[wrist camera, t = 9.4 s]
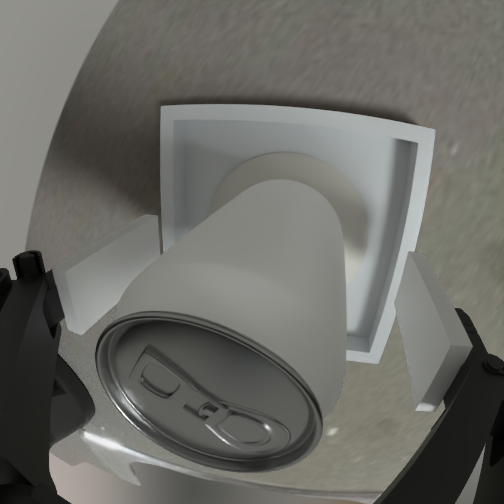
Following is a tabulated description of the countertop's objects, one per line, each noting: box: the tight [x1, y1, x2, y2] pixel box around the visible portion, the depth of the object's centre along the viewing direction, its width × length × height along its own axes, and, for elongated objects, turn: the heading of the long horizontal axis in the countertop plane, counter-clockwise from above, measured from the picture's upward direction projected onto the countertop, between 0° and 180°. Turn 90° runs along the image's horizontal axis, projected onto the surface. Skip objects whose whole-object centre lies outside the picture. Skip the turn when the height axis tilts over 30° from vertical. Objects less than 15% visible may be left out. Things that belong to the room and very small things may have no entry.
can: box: [95, 179, 347, 473], centre depth 12 cm, size 6×6×12 cm
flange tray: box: [160, 104, 435, 364], centre depth 17 cm, size 14×14×2 cm
